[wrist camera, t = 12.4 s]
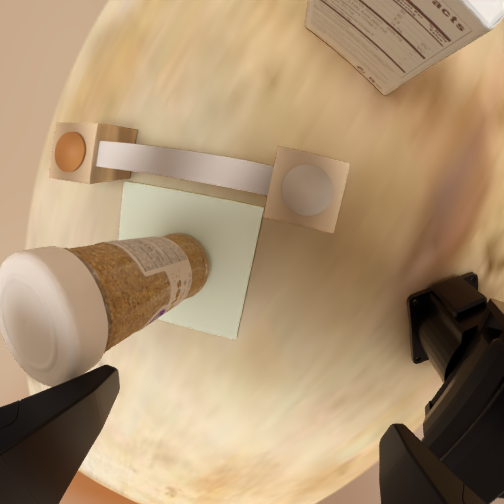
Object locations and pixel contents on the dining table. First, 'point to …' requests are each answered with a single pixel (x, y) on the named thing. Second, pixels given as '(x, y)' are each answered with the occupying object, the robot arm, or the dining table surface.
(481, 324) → the robot arm
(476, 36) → the supplement box
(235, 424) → the dining table surface
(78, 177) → the handrail
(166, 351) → the dining table surface
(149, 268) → the sprinkles bottle
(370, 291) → the dining table surface
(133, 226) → the pad
